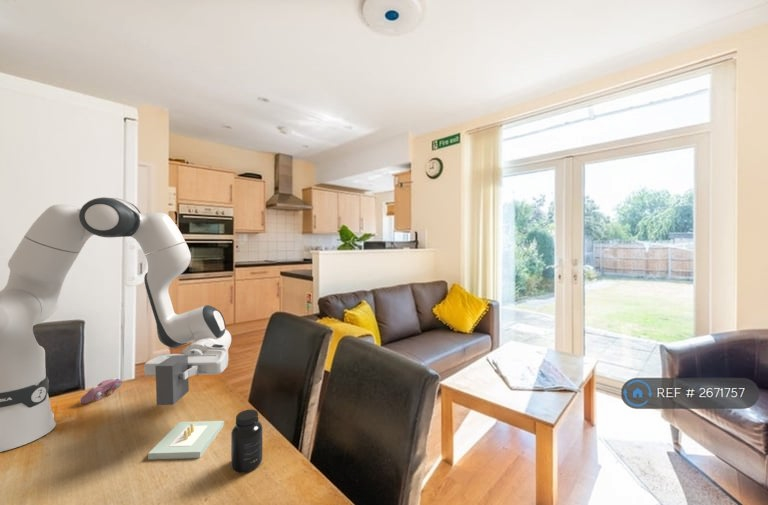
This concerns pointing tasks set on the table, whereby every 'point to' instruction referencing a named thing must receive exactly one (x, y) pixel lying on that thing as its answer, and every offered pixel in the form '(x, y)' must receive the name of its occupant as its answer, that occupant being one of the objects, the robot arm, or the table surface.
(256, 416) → the supplement bottle
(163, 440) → the pin board
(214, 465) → the table surface
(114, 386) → the video game controller
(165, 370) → the block
